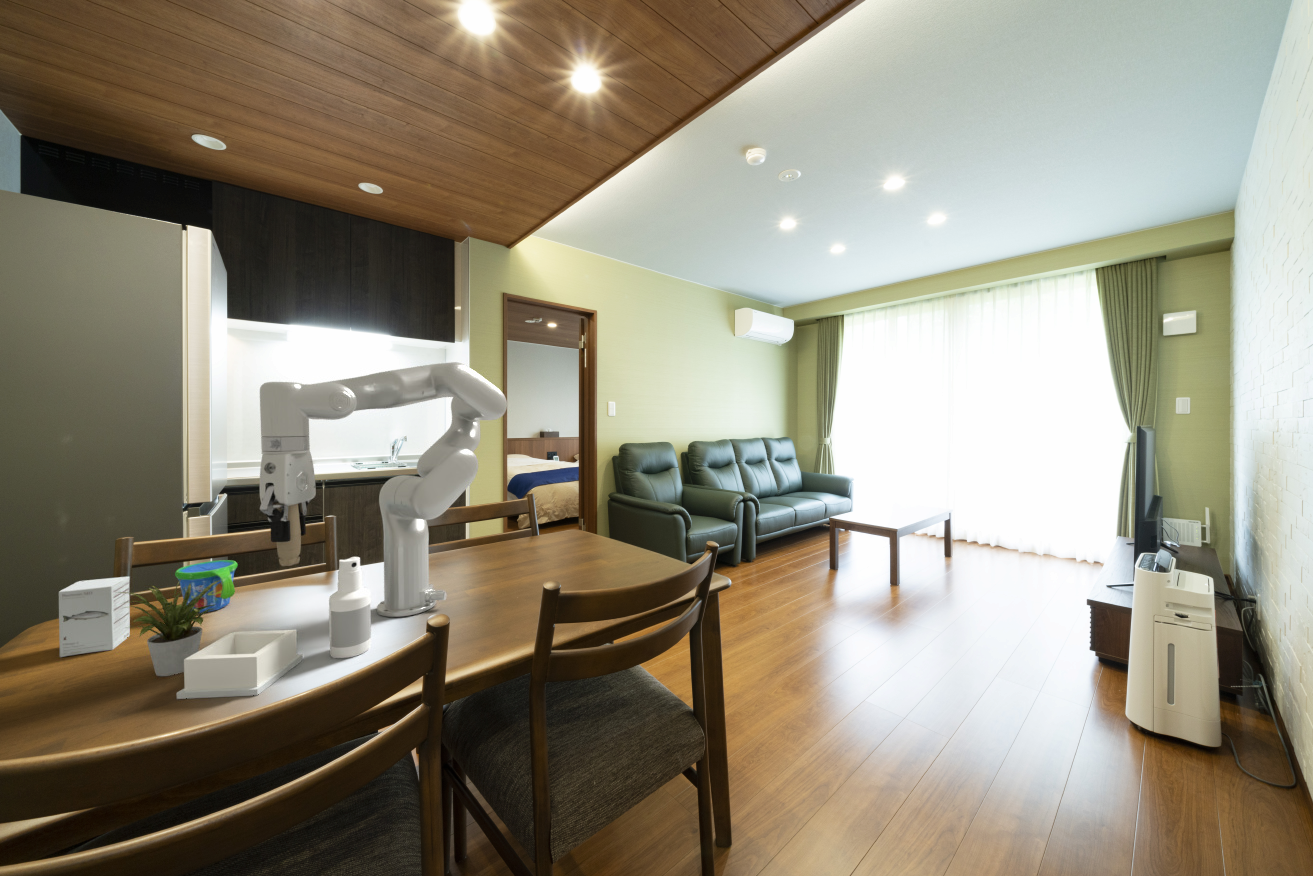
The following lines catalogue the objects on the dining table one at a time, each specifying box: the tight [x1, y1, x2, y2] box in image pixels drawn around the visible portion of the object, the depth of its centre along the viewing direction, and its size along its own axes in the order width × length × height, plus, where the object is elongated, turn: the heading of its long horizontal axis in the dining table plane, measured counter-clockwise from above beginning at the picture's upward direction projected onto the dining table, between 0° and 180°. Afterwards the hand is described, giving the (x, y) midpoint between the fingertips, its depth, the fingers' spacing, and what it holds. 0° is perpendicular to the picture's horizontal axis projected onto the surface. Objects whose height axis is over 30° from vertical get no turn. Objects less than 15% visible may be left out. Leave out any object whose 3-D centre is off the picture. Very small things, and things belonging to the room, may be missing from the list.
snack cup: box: [174, 559, 238, 615], centre depth 115 cm, size 16×10×10 cm
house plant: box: [118, 576, 220, 677], centre depth 87 cm, size 14×14×16 cm
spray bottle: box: [328, 556, 372, 659], centre depth 95 cm, size 7×7×18 cm
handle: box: [276, 502, 302, 567], centre depth 96 cm, size 5×6×15 cm
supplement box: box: [58, 576, 131, 658], centre depth 96 cm, size 7×7×13 cm
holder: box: [176, 629, 304, 700], centre depth 85 cm, size 12×12×6 cm
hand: (288, 537), depth 96 cm, fingers closed on handle, 4 cm apart
